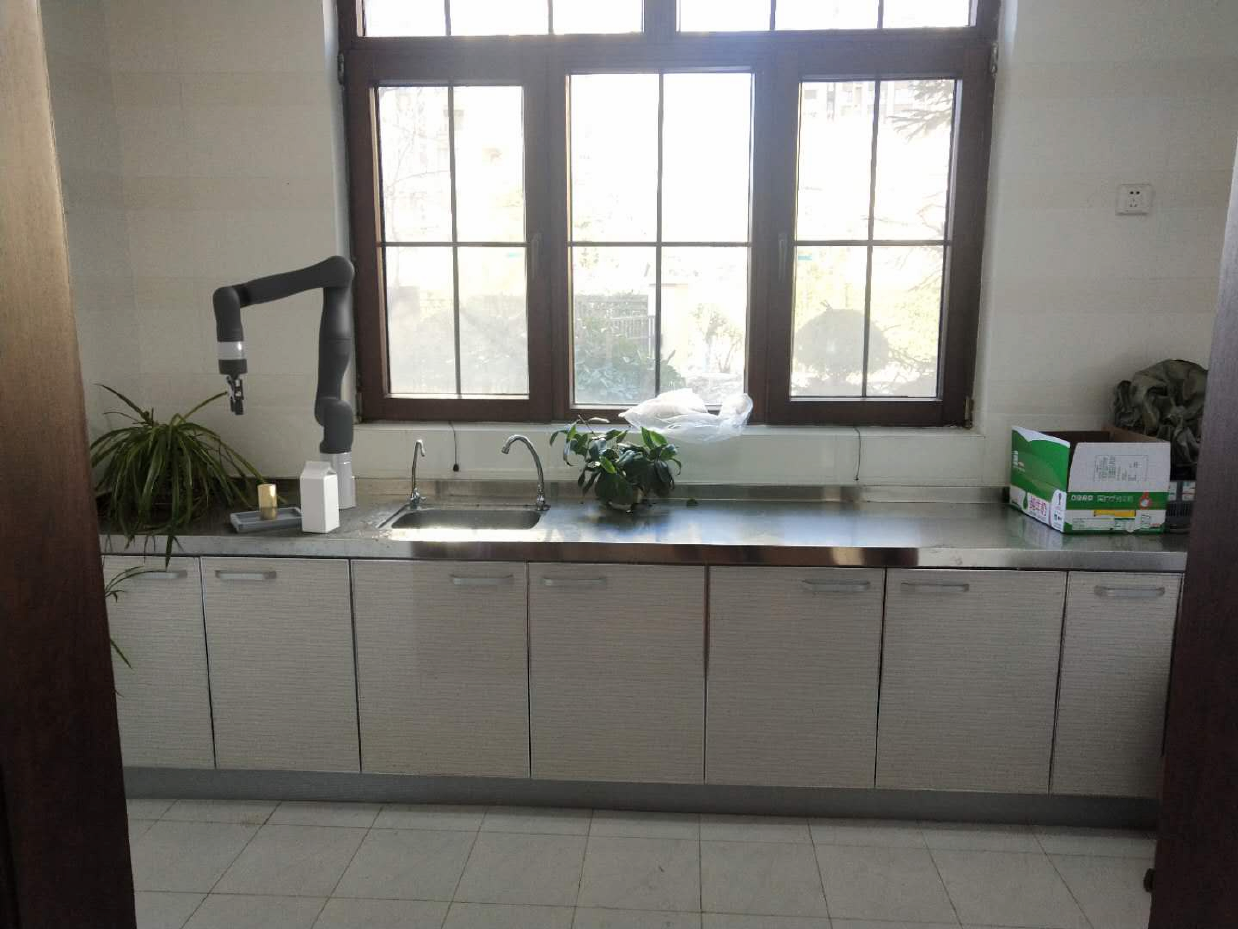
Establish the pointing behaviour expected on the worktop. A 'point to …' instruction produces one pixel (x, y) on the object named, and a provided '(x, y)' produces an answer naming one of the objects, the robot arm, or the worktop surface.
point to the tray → (252, 520)
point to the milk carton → (319, 497)
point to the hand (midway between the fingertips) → (237, 413)
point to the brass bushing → (267, 502)
